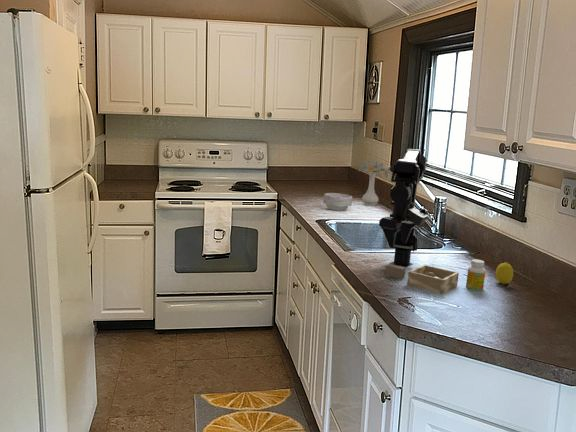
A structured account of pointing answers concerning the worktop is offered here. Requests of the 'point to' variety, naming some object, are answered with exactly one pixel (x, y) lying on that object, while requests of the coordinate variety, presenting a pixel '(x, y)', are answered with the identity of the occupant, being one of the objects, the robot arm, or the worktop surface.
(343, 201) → the paper bowls
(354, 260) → the worktop surface
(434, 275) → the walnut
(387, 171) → the flower vase
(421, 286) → the box
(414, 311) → the worktop surface
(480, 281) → the supplement bottle
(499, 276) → the lemon
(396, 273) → the lid
